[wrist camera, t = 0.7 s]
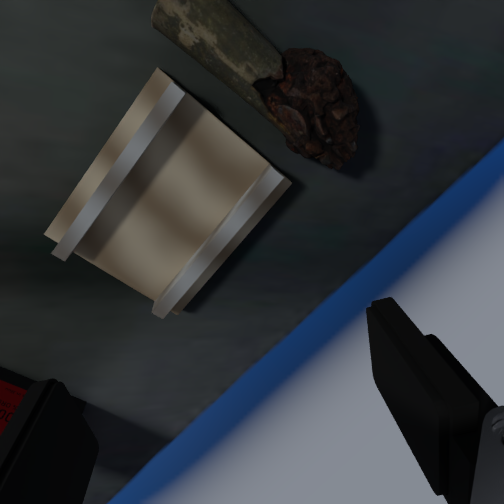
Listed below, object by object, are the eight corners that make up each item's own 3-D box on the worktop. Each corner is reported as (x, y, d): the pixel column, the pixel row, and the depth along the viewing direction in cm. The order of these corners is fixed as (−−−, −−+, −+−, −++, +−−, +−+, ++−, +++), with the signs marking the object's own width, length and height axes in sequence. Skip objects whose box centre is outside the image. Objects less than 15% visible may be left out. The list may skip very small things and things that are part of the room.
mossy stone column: (153, 28, 28) (140, 14, 23) (207, -55, 26) (206, -91, 21) (318, 174, 34) (338, 188, 29) (371, 113, 32) (401, 117, 27)
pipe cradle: (159, 68, 29) (153, 66, 26) (289, 179, 34) (297, 188, 31) (49, 229, 33) (34, 243, 30) (178, 308, 38) (176, 327, 35)
